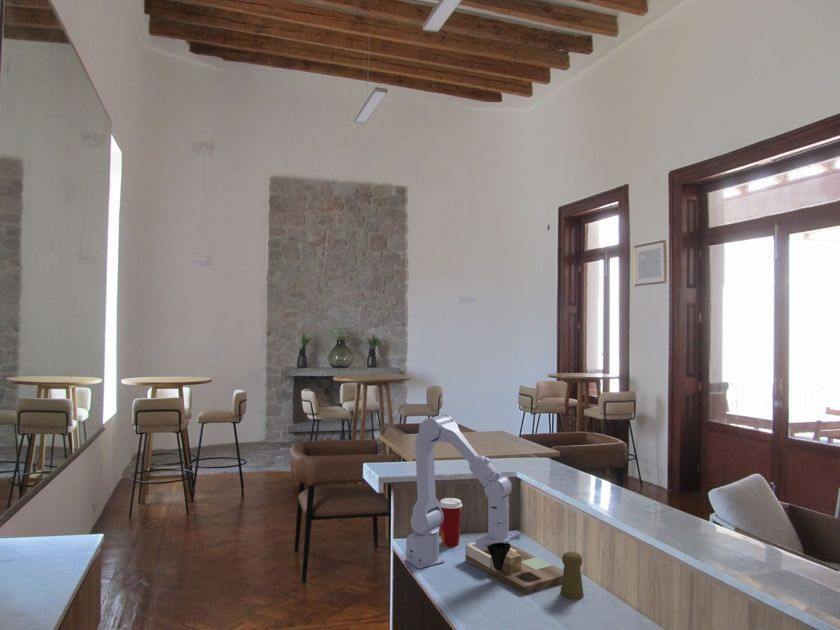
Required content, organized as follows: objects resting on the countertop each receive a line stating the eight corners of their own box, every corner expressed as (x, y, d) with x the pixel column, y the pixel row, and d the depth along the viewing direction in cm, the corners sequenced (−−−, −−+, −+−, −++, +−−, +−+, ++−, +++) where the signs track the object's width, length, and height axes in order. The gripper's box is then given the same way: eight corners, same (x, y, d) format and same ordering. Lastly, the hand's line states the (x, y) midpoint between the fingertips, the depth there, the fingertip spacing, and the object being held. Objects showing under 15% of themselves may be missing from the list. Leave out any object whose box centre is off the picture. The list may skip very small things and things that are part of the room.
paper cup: (467, 543, 201) (467, 500, 201) (451, 550, 196) (452, 505, 196) (448, 537, 207) (448, 495, 207) (433, 543, 201) (433, 500, 201)
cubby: (490, 568, 177) (490, 557, 177) (465, 554, 187) (465, 544, 187) (517, 561, 182) (517, 550, 182) (491, 548, 193) (491, 538, 193)
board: (524, 594, 165) (524, 587, 165) (465, 560, 187) (465, 554, 187) (570, 580, 174) (570, 573, 174) (509, 550, 196) (509, 543, 196)
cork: (570, 601, 161) (571, 559, 161) (555, 592, 166) (555, 551, 166) (588, 597, 164) (588, 555, 164) (573, 588, 169) (573, 547, 169)
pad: (535, 576, 176) (535, 569, 176) (519, 568, 182) (519, 561, 182) (552, 572, 180) (552, 565, 180) (536, 563, 186) (536, 557, 186)
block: (510, 572, 174) (510, 558, 174) (501, 567, 178) (501, 553, 178) (521, 569, 176) (521, 555, 176) (512, 564, 180) (512, 550, 180)
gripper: (486, 529, 167) (486, 579, 167) (527, 520, 175) (527, 568, 174) (471, 521, 173) (470, 570, 173) (511, 513, 181) (511, 560, 181)
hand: (498, 568), depth 174 cm, fingers closed
